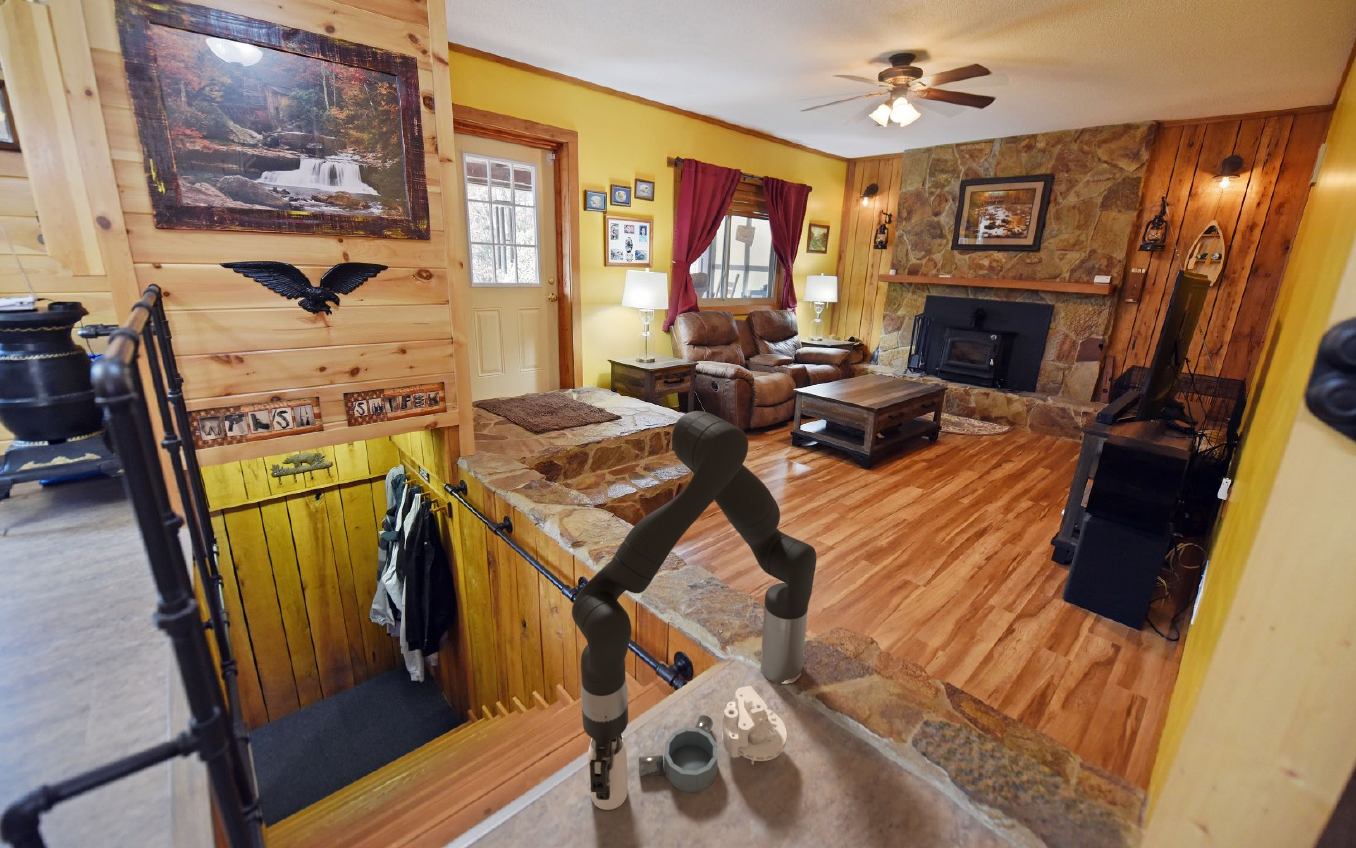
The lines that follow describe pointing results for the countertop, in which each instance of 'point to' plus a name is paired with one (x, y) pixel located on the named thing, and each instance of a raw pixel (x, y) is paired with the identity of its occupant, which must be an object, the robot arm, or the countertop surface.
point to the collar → (690, 760)
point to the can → (614, 777)
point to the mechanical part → (752, 728)
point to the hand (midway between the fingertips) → (608, 774)
